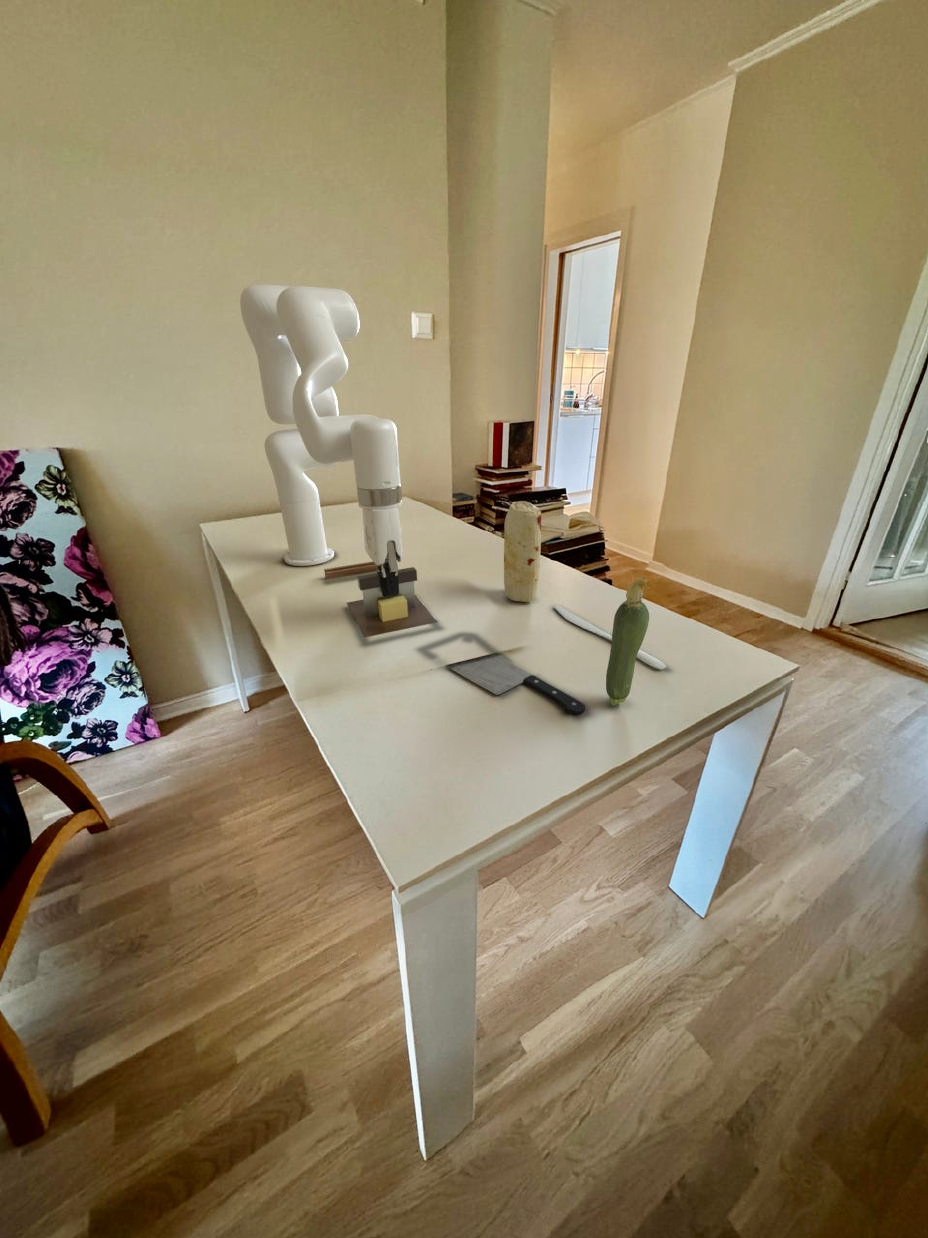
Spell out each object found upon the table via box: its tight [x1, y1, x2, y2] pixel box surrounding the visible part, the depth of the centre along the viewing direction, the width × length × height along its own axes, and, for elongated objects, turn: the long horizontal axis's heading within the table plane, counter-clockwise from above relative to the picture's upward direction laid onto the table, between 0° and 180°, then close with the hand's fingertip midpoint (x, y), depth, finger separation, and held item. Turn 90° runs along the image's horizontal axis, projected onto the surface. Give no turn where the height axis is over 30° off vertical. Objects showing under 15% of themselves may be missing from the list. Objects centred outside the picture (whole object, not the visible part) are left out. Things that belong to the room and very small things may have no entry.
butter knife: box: [554, 605, 667, 670], centre depth 87 cm, size 1×27×3 cm
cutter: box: [357, 566, 418, 617], centre depth 92 cm, size 2×11×8 cm, turn 114°
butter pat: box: [378, 596, 408, 622], centre depth 91 cm, size 2×5×4 cm, turn 114°
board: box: [346, 594, 438, 638], centre depth 94 cm, size 16×14×2 cm
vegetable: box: [605, 576, 650, 706], centre depth 65 cm, size 4×4×20 cm
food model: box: [503, 500, 542, 603], centre depth 98 cm, size 10×7×20 cm
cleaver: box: [445, 652, 586, 715], centre depth 76 cm, size 29×1×10 cm
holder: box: [323, 561, 378, 580], centre depth 114 cm, size 3×13×2 cm, turn 114°
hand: (389, 592), depth 92 cm, fingers closed on cutter, 1 cm apart
